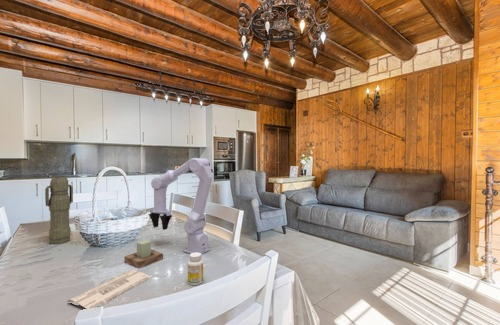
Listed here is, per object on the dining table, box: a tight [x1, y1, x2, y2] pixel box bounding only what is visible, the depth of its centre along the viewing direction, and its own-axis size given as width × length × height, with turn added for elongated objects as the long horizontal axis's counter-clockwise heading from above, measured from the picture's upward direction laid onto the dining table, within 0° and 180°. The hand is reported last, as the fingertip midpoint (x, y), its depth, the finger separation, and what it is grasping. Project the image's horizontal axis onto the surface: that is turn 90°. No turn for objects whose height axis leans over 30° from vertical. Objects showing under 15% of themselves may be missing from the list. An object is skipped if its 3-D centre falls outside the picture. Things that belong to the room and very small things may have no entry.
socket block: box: [124, 248, 164, 270], centre depth 102 cm, size 11×11×2 cm
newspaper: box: [67, 269, 152, 310], centre depth 79 cm, size 23×12×2 cm, turn 155°
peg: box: [136, 239, 152, 259], centre depth 102 cm, size 4×4×8 cm
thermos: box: [44, 175, 74, 245], centre depth 127 cm, size 9×12×35 cm
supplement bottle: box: [187, 252, 204, 286], centre depth 83 cm, size 5×5×10 cm
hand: (160, 228), depth 120 cm, fingers open, 7 cm apart
